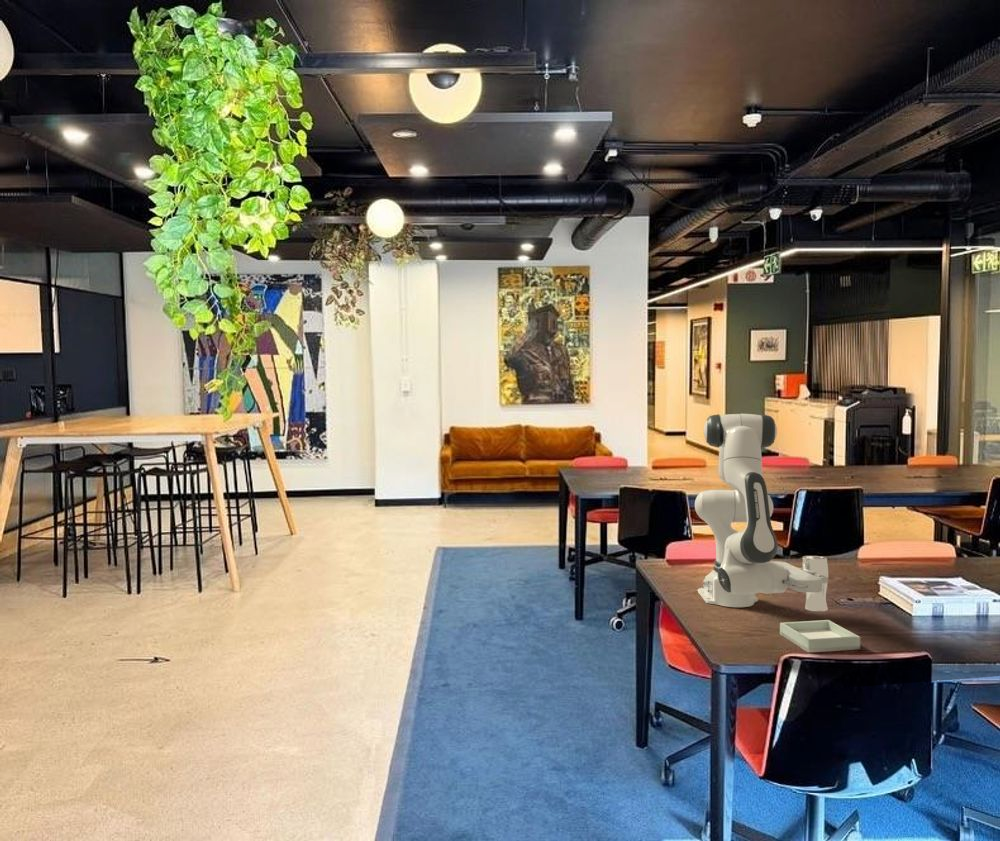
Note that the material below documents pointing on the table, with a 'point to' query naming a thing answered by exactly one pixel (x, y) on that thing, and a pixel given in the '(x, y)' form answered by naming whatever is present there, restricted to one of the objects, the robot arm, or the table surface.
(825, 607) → the beer glass
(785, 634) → the light gray opaque tray
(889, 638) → the table surface
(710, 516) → the robot arm
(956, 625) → the table surface
